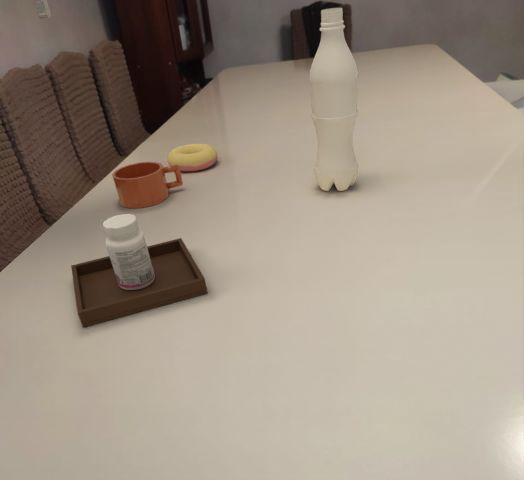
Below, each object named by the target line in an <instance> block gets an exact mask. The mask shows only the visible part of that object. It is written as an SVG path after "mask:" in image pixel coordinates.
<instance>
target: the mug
mask: <svg viewBox="0 0 524 480" xmlns="http://www.w3.org/2000/svg"><path fill="white" fill-rule="evenodd" d="M173 172H174V175H175V180H173V181H169V182H167V178H166V174H168V173H173ZM181 172H182V171H180V167H179V165H172V166H170V165H168V166H163V164H162V163H160V162H157V161H140V162H135V163H130V164H127V165H124V166H121V167H119V168H118V169H116V170H114V172H113V173H112V174H111V175H112V180H113V183H114V186H115V190H116V194H117V197H118V200H119V203H120V205H121V206H122V207H124V208H127V209H141V208H148V207H152V206H156V205H158V204H160V203H162V202H164V201H166V200H167V199H168V198H169V195H170V194H169V189H170V190H171V189H174V188H178V187H182V186H183V184H184V182H183V178H182V173H181Z"/></svg>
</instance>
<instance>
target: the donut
mask: <svg viewBox="0 0 524 480" xmlns="http://www.w3.org/2000/svg"><path fill="white" fill-rule="evenodd" d="M217 160H218V152H217V150H216V148H215V147H214V146H212V145H210V144H208V143H189V144H184V145H180V146H177V147H174V148H172V149H171V150H170V152H169V153H168V155H167V163H168V166H172V165H179V167H180V172H198V171H202V170H205V169H207V168H210V167H212V166H214V165H215V163H217Z"/></svg>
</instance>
